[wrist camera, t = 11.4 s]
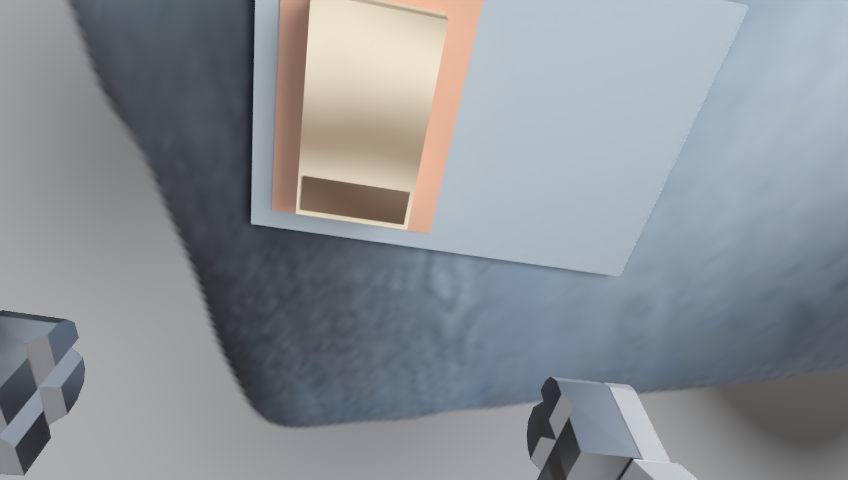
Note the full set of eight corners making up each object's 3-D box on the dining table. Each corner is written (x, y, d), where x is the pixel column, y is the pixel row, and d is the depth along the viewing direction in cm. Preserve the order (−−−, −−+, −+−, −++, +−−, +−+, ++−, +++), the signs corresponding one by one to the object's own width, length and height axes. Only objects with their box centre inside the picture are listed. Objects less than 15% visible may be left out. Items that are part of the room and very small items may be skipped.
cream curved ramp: (320, -14, 20) (310, -7, 18) (444, 11, 21) (449, 20, 18) (305, 189, 25) (295, 214, 22) (406, 204, 25) (407, 231, 23)
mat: (741, 3, 22) (751, 5, 21) (616, 270, 29) (620, 277, 28) (261, -104, 19) (256, -106, 18) (253, 218, 26) (250, 224, 26)
